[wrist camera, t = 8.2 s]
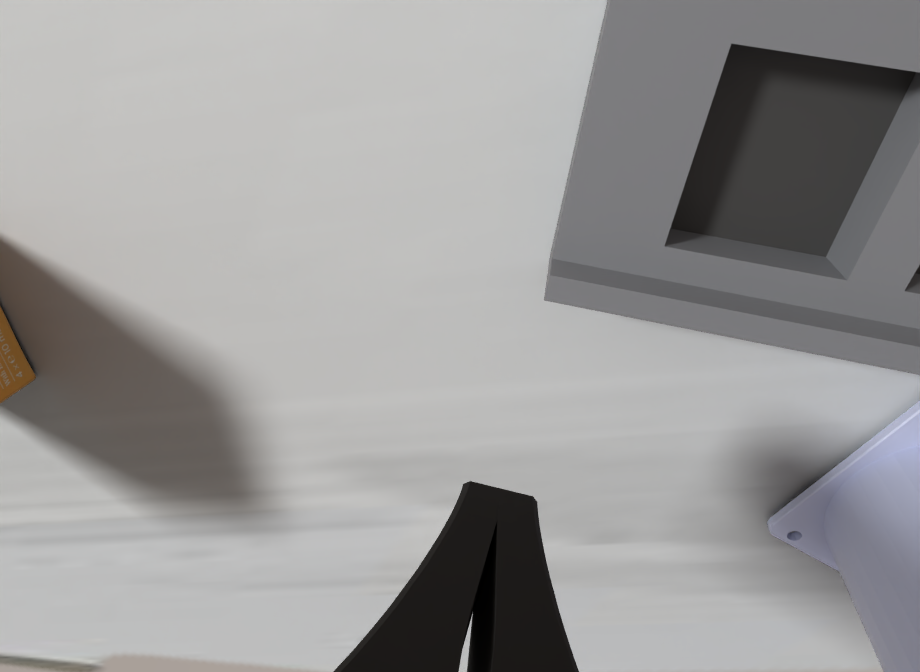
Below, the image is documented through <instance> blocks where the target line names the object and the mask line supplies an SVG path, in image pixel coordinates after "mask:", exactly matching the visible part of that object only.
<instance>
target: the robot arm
mask: <svg viewBox="0 0 920 672" xmlns="http://www.w3.org/2000/svg"><path fill="white" fill-rule="evenodd" d="M767 525H768V528H769V531H770V533H771V534H772V535H773V536H774V537H776V538H778V539H780V540H782V541H784V542H785V543H787V544H789V545H791V546H793V547H795V548H796V549H798V550H800V551H802V552H804V553H806V554H808V555H809V556H811V557H813V558H815V559H817V560H819V561H820V562H822V563H824V564H826V565H828V566H830V567H831V568H833V569H835V570H837V571H839V572H840V574H841V576H842V578H843V580H844V583H845V585H846V587H847V589H848V592H849V594H850V596H851V599H852V601H853V603H854V605H855V608H856V610H857V612H858V614H859V617H860V619H861V621H862V624H863V626H864V628H865V630H866V633H867V635H868V637H869V639H870V642H871V644H872V646H873V648H874V651H875V653H876V655H877V658H878V660H879V662H880V664H881V667H882V669H883V671H884V672H920V401H919V402H917V403H916V404H915V405H913V406H912V407H911V408H910V409H908V410H907V411H906V412H905V413H903V414H902V415H901V416H899V417H898V418H897V419H896V420H894V421H893V422H892V423H890V424H889V425H888V426H887V427H885V428H884V429H883V430H882V431H880V432H879V433H878V434H876V435H875V436H874V437H873V438H871V439H870V440H869V441H867V442H866V443H865V444H864V445H862V446H861V447H860V448H859V449H857V450H856V451H855V452H853V453H852V454H851V455H850V456H848V457H847V458H846V459H845V460H843V461H842V462H841V463H839V464H838V465H837V466H836V467H834V468H833V469H832V470H830V471H829V472H828V473H827V474H825V475H824V476H823V477H822V478H820V479H819V480H818V481H816V482H815V483H814V484H813V485H811V486H810V487H809V488H807V489H806V490H805V491H804V492H802V493H801V494H800V495H799V496H797V497H796V498H795V499H793V500H792V501H791V502H790V503H788V504H787V505H786V506H785V507H783V508H782V509H781V510H779V511H778V512H777V513H776V514H774V515H773V516H772V517H771V518H770V519H769V520H768V522H767ZM792 531H796V532H794V533H789V532H792ZM472 613H473V617H472V627H471V637H470V647H469V658H468V668H467V672H579V671H578V668H577V665H576V662H575V660H574V657H573V654H572V651H571V648H570V645H569V642H568V638H567V635H566V632H565V629H564V626H563V623H562V619H561V616H560V613H559V609H558V606H557V602H556V598H555V594H554V591H553V587H552V583H551V579H550V576H549V571H548V567H547V563H546V558H545V553H544V548H543V543H542V538H541V532H540V526H539V518H538V508H537V501H536V500H535V499H534V497H533V496H529V495H525V494H521V493H516V492H512V491H508V490H504V489H500V488H496V487H492V486H488V485H484V484H479V483H475V482H471V481H470V482H467V483H465V484H463V487H462V490H461V493H460V496H459V498H458V500H457V503H456V505H455V507H454V509H453V511H452V513H451V515H450V517H449V519H448V521H447V522H446V524H445V526H444V528H443V529H442V531H441V533H440V535H439V536H438V538H437V540H436V541H435V543H434V544H433V546H432V547H431V549H430V551H429V552H428V554H427V555H426V557H425V558H424V560H423V561H422V563H421V565H420V566H419V567H418V569H417V570H416V572H415V573H414V575H413V576H412V577H411V579H410V580H409V581H408V583H407V584H406V585H405V587H404V588H403V589H402V591H401V592H400V594H399V595H398V596H397V598H396V599H395V600H394V602H393V603H392V604H391V606H390V607H389V608H388V609H387V611H386V612H385V613H384V614H383V616H382V617H381V618H380V619H379V621H378V622H377V623H376V624H375V625H374V627H373V628H372V629H371V630H370V631H369V633H368V634H367V635H366V636H365V637H364V638H363V640H362V641H361V642H360V643H359V644H358V645H357V647H356V648H355V649H354V650H353V651H352V652H351V653H350V654H349V656H348V657H347V658H346V659H345V660H344V661H343V662H342V663H341V664H340V665H339V666H338V667H337V668H336V670H335V671H334V672H458V670H459V665H460V659H461V653H462V648H463V645H464V641H465V638H466V634H467V631H468V627H469V623H470V620H471V616H472Z"/></svg>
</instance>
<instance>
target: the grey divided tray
mask: <svg viewBox="0 0 920 672" xmlns="http://www.w3.org/2000/svg"><path fill="white" fill-rule="evenodd" d="M544 300H545V301H550V302H555V303H560V304H565V305H570V306H575V307H580V308H585V309H590V310H595V311H601V312H606V313H611V314H616V315H621V316H626V317H631V318H636V319H641V320H646V321H651V322H656V323H661V324H666V325H671V326H676V327H681V328H686V329H691V330H696V331H701V332H706V333H712V334H717V335H722V336H727V337H732V338H737V339H742V340H747V341H752V342H757V343H762V344H767V345H772V346H777V347H782V348H787V349H792V350H797V351H802V352H807V353H812V354H817V355H823V356H828V357H833V358H838V359H843V360H848V361H853V362H858V363H863V364H868V365H873V366H878V367H883V368H888V369H893V370H898V371H903V372H908V373H913V374H918V375H920V0H608V1H607V5H606V10H605V14H604V19H603V23H602V27H601V32H600V36H599V41H598V45H597V50H596V54H595V59H594V63H593V67H592V72H591V76H590V81H589V85H588V90H587V94H586V99H585V103H584V108H583V112H582V116H581V121H580V125H579V130H578V134H577V139H576V143H575V148H574V152H573V157H572V161H571V165H570V170H569V174H568V179H567V183H566V188H565V192H564V197H563V201H562V205H561V210H560V214H559V219H558V223H557V228H556V232H555V237H554V241H553V246H552V250H551V254H550V260H549V267H548V275H547V282H546V289H545V297H544Z"/></svg>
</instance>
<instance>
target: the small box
mask: <svg viewBox="0 0 920 672" xmlns="http://www.w3.org/2000/svg"><path fill="white" fill-rule="evenodd" d="M35 378H36V376H35V374H34V372H33V370H32V369H31V367H30V365H29V363H28V362H27V360H26V358H25V356H24V354H23V352H22V350H21V348H20V346H19V344H18V342H17V340H16V338H15V336H14V333H13V331H12V329H11V327H10V325H9V323H8V321H7V319H6V317H5V314H4V312H3V310H2V308H1V306H0V403H2V402H3V401H5V400H6V399H8V398H9V397H10V396H12V395H13V394H15V393H16V392H18V391H19V390H21V389H22V388H23V387H25V386H26V385H28V384H29V383H31V382H32V381H33V380H35Z"/></svg>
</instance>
